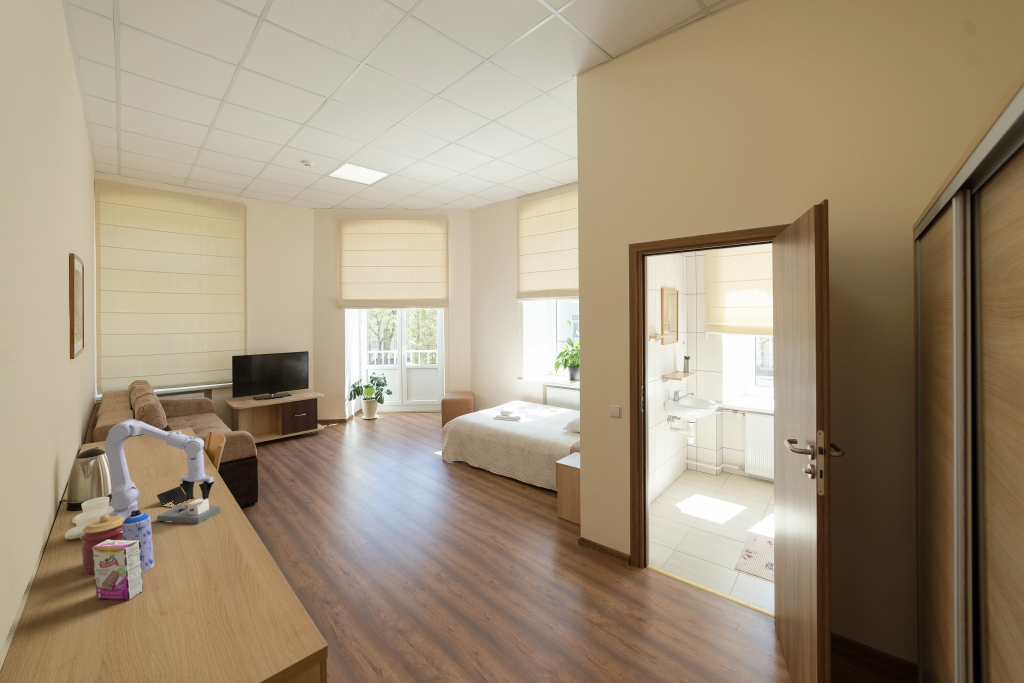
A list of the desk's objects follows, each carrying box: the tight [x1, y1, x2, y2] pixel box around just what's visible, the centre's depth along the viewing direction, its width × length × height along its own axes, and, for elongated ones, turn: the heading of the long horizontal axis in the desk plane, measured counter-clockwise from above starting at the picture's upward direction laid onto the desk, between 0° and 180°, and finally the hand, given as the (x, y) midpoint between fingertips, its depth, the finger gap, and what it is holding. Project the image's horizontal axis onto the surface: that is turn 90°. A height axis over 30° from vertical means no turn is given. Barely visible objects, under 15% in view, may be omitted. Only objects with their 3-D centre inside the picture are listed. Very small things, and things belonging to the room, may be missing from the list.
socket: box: [156, 504, 221, 524], centre depth 193 cm, size 11×20×3 cm, turn 80°
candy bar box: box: [92, 540, 144, 601], centre depth 136 cm, size 11×5×16 cm, turn 84°
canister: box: [79, 513, 126, 575], centre depth 155 cm, size 13×13×18 cm
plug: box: [187, 498, 210, 515], centre depth 191 cm, size 7×5×6 cm
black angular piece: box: [156, 485, 195, 506], centre depth 210 cm, size 12×7×10 cm
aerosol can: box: [122, 509, 156, 573], centre depth 152 cm, size 8×8×20 cm
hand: (198, 498), depth 191 cm, fingers open, 7 cm apart
